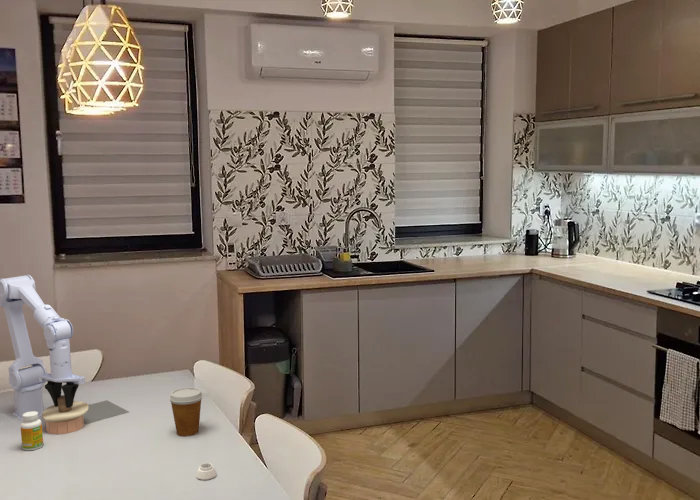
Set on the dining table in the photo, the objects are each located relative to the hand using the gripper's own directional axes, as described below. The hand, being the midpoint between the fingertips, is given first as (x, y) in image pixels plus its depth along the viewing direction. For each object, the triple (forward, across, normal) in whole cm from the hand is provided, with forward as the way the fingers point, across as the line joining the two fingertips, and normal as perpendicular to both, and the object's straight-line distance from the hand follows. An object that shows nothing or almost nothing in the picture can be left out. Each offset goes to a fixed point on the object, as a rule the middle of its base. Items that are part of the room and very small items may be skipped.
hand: (63, 406), depth 211 cm
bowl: (+7, 0, 0) cm, 7 cm away
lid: (+2, 0, -1) cm, 2 cm away
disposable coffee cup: (+7, -37, -6) cm, 38 cm away
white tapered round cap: (+7, -56, +19) cm, 60 cm away
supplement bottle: (+7, 0, +14) cm, 16 cm away
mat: (+7, -1, -14) cm, 16 cm away
